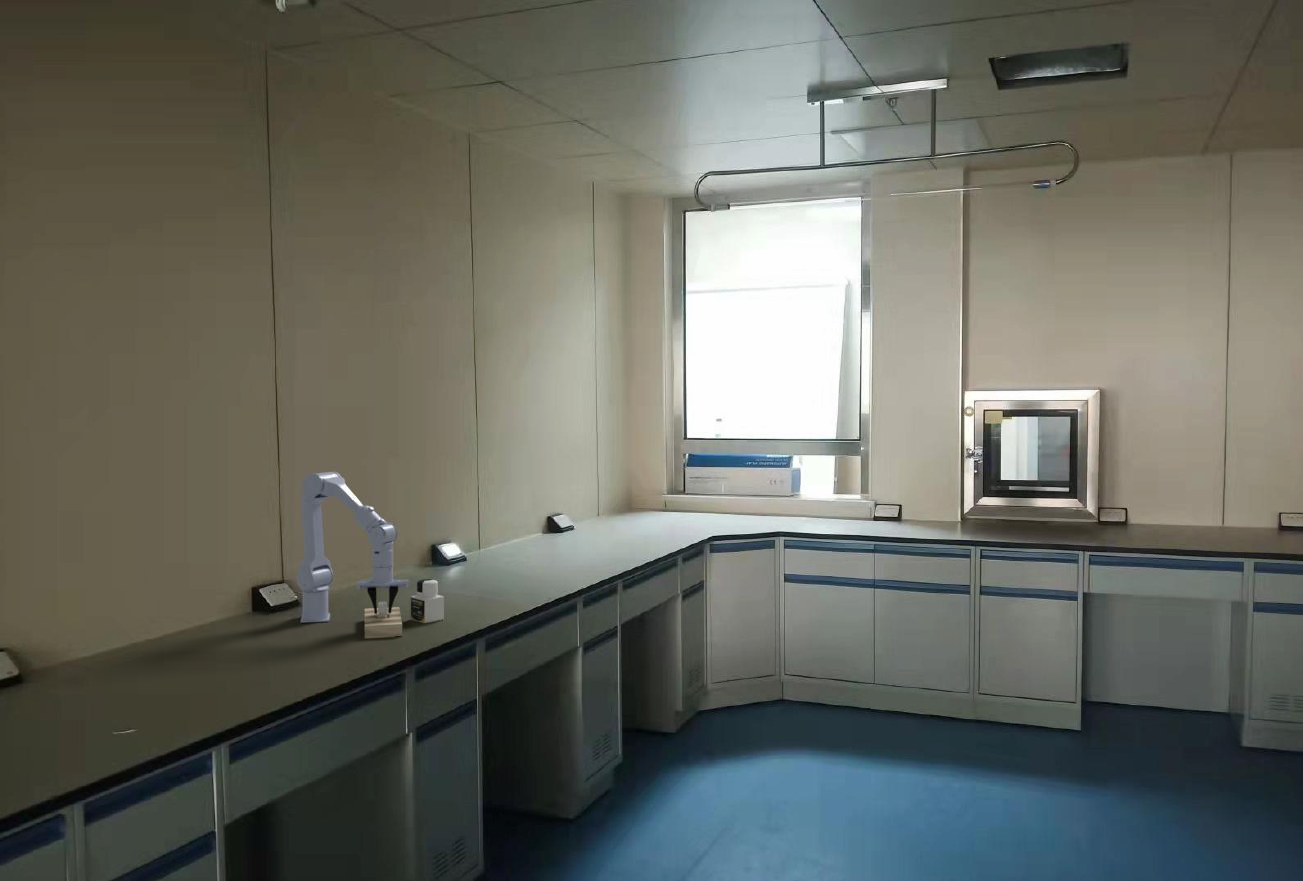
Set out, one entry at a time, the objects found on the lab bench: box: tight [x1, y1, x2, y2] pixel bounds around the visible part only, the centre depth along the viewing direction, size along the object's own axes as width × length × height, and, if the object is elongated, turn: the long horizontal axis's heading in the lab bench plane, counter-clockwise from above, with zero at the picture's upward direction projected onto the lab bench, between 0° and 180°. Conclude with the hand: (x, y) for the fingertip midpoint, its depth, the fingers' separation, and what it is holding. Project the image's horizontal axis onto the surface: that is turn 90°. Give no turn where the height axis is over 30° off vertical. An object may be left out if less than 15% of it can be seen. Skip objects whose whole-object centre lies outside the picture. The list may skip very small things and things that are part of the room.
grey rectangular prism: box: [377, 601, 388, 618], centre depth 288 cm, size 7×2×7 cm, turn 16°
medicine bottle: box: [410, 578, 445, 624], centre depth 299 cm, size 7×7×12 cm
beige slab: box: [364, 606, 403, 639], centre depth 288 cm, size 22×10×4 cm, turn 16°
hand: (382, 612), depth 288 cm, fingers open, 3 cm apart
